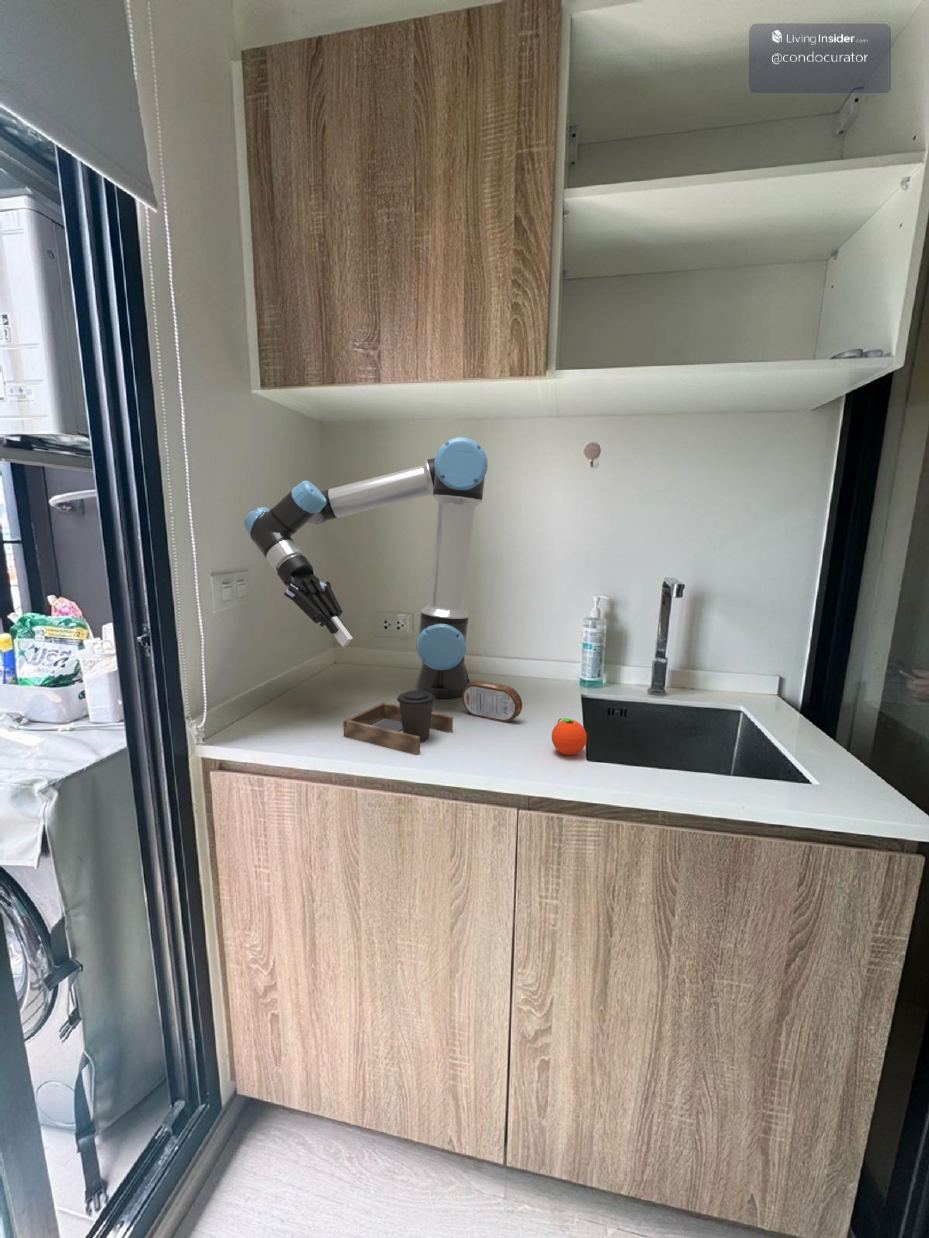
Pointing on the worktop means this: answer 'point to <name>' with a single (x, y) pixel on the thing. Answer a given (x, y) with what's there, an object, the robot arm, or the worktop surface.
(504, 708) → the tin
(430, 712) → the coffee cup
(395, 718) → the channel
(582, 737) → the clementine
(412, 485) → the robot arm
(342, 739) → the worktop surface
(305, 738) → the worktop surface
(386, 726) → the pad
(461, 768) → the worktop surface
